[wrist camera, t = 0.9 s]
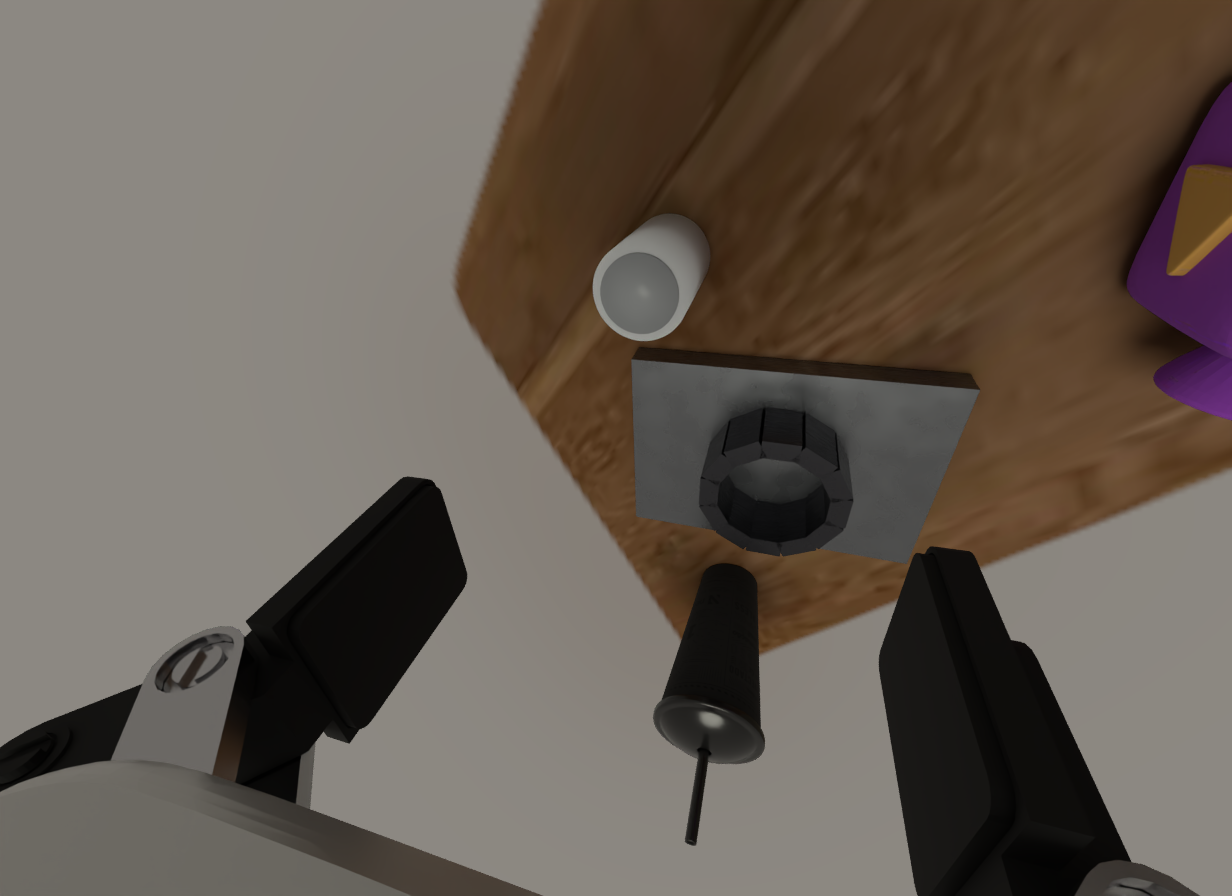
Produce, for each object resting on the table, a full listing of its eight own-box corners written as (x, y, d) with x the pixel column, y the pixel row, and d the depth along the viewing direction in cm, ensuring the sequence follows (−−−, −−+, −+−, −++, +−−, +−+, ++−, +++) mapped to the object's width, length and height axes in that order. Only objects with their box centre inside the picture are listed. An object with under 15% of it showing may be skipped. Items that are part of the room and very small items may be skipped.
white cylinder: (628, 213, 29) (587, 241, 24) (712, 213, 28) (690, 243, 22) (630, 296, 32) (594, 339, 27) (707, 300, 31) (686, 346, 25)
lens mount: (639, 347, 34) (613, 387, 30) (970, 373, 29) (1002, 427, 24) (642, 500, 42) (622, 551, 38) (902, 544, 37) (916, 609, 32)
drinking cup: (788, 572, 42) (780, 855, 26) (754, 621, 47) (729, 884, 31) (702, 539, 43) (645, 794, 27) (677, 590, 47) (616, 832, 32)
